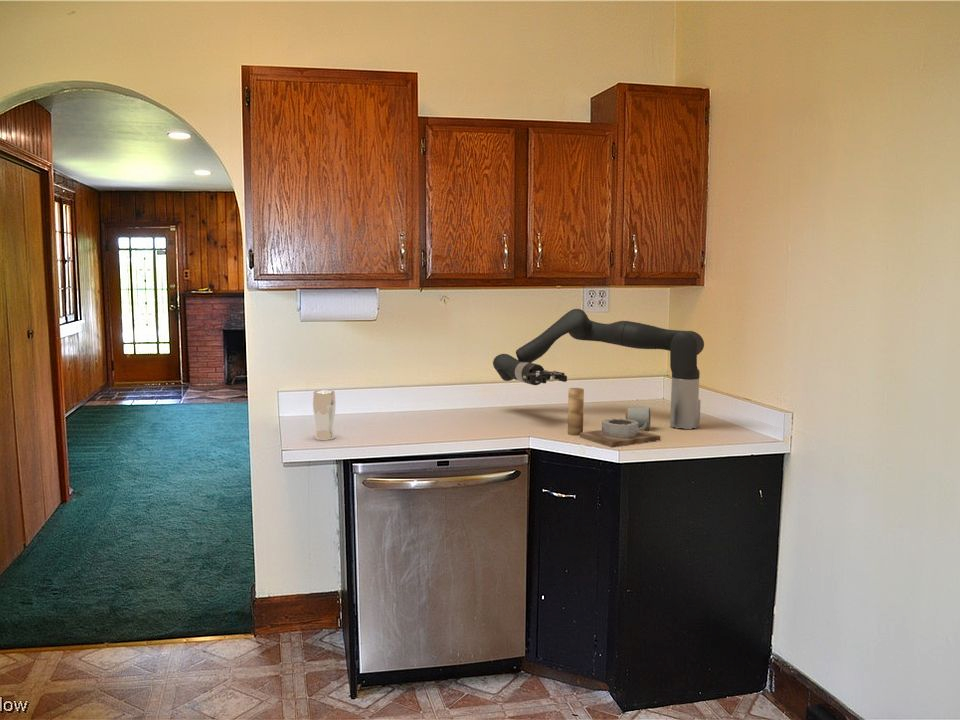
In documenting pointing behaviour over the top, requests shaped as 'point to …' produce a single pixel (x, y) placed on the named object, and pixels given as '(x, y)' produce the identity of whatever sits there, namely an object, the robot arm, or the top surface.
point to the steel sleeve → (620, 428)
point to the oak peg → (575, 411)
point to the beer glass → (324, 414)
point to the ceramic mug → (639, 416)
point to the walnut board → (613, 442)
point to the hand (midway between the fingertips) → (555, 379)
